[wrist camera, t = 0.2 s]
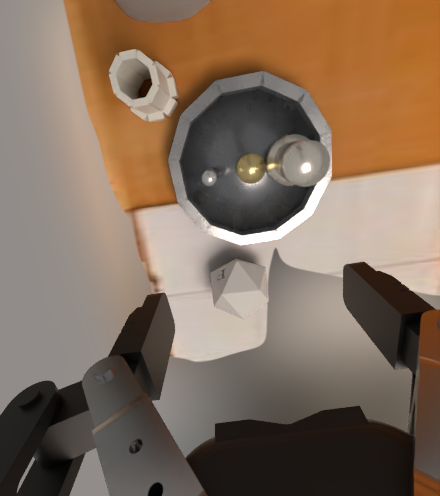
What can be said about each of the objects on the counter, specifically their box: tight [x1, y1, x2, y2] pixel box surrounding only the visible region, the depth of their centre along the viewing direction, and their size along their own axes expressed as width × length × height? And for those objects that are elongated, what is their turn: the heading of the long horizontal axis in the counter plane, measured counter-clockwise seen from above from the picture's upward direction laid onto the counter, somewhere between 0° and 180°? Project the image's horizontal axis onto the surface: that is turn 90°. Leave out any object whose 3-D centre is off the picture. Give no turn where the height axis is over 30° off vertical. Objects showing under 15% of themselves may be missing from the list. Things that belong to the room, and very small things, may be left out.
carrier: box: [168, 71, 332, 245], centre depth 32 cm, size 21×21×9 cm
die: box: [210, 259, 269, 319], centre depth 39 cm, size 8×9×10 cm
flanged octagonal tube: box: [109, 49, 179, 123], centre depth 29 cm, size 6×6×8 cm
